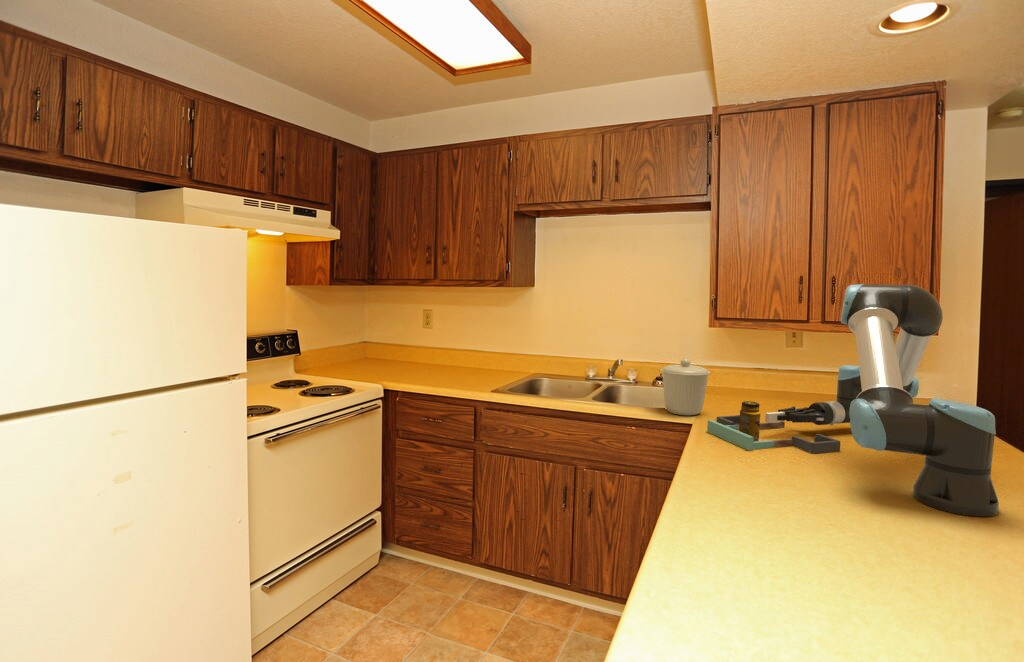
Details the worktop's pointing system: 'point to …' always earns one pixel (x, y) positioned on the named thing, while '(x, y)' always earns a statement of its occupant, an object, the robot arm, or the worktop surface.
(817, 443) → the trap pits
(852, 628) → the worktop surface
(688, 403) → the canister
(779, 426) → the lane
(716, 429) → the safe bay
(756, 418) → the condiment
